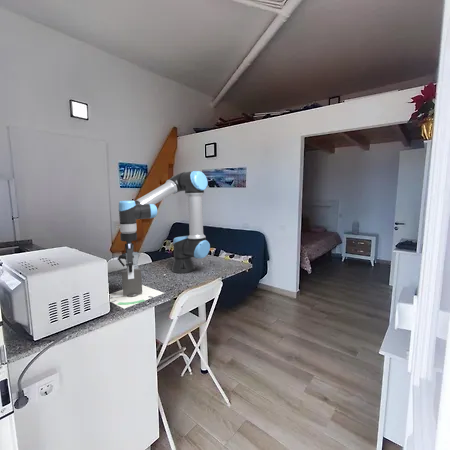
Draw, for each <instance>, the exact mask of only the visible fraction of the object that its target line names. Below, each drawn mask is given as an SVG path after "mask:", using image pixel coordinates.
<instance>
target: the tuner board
mask: <svg viewBox="0 0 450 450" xmlns="http://www.w3.org/2000/svg"><path fill="white" fill-rule="evenodd" d="M109 295H110V301H109V302H110V303H112V304H114V305H116V306H117V307H120V308H122V309H124V310H125V309H127V308H129V307H132V306H135V305H137V304H140V303H144V302H146V301H147V300H151V299H153V298H155V297H158V296H160V295H164V292H163V291H160V290H158V289H154V288H151V287H150V286H146V285H144V284H142V293H139V295H137V296H134V297H128V296H121V297H115V298H113V296H117V295H123V289H121V290H117V291H115V292H112V293H109Z"/></svg>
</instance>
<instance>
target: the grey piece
mask: <svg viewBox="0 0 450 450" xmlns="http://www.w3.org/2000/svg"><path fill="white" fill-rule="evenodd" d="M138 268H139V269H134V279H128V270H126V269H124V270H123V269H122V270H121V285H122V290H123V295H117V296H113V298H115V297H121V296H128V297H134V296H137V295H139V293H142V285H143V281H142V269H141V267H138Z"/></svg>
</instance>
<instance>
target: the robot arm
mask: <svg viewBox="0 0 450 450" xmlns="http://www.w3.org/2000/svg"><path fill="white" fill-rule="evenodd" d="M208 184H209V183H208V178H207V175H205V174H204V172H202V171H201V170H200V171H199V170H193V171H184V172H180V173H177V174H176V175H174V176H172V177H171V178H169V179H167V180H166V181H165V183H164V184H161V185H159V186H158V187H156V188H155V189H153V190H151V191H150V192H148V193H146V194H145V195H143V196H141V197H139V198H137V199H136V200H120V201H119V202H118V217H119V219H118V220H119V225H118V228H119V232H120V234H119V235H120V241H121V242H126V243H125V244H124V248H125V253H127V264H125V266H126V269H128V279H134V266H133V258H134V256H133V252H134V249H135V247H134V246H135V245H134V243H133V241H137V240H138V233H137V231H138V230H137V229H138V228H137V220H144V219H146V220H147V219H155V217H156V216H157V215H158V207H157V205H156V204H159V203H161V201H163V200H164V199H166V198H168V197H169V196H171V195H175V194H177V193H181V192H184V194H185V195H186V196H187V204H188V205H187V208H188V225H189V227H188V229H189V230H188V231H189V235H183V236H177V237H174V238H173V243H172V245H173V259H174V260H173V264H172V267H171V271H172V273H175V274H187V273H191V272H194V271H195V270H196V269H195V267H196V266H195V264H194V260H193V258H195V259H204V258H206V257H207V256H208V254H209V253H210V250H211V244H210V242H209V241H208V240H207V238H206V235H205V234H204V220H203V217H204V216H203V201H202V200H203V197H202V196H203V195H204V194H205V190H206V189H207V187H208Z"/></svg>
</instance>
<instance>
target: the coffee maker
mask: <svg viewBox="0 0 450 450" xmlns="http://www.w3.org/2000/svg"><path fill="white" fill-rule="evenodd" d="M141 254H142V253H141V252H137V251H133V256H134V258H133V266H134V269H139V268H140V267H139V265H138V263H139V258H140V255H141ZM121 259H122V260H125V263H126V264H127V253H126V252H125V253H122V254H121V255H119V256H118V258H117V261H118V262H119V263H120V264H121V266H122V267H125V266H126V264H125V263H124V262H123V261H122V260H121ZM125 270H128V269H127V268H126V269H125Z"/></svg>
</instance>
